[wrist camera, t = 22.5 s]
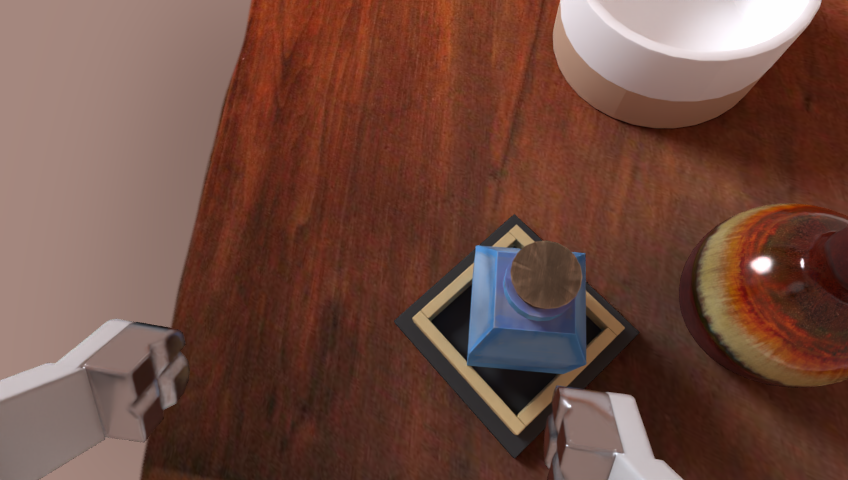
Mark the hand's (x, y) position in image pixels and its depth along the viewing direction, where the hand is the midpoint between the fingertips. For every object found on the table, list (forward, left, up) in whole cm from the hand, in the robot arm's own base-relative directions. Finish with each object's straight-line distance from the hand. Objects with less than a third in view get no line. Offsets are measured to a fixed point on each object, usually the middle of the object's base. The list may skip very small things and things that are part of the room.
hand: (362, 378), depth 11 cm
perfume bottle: (+8, 0, -23) cm, 25 cm away
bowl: (+34, +9, -26) cm, 44 cm away
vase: (+21, -10, -26) cm, 35 cm away
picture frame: (+8, 0, -25) cm, 27 cm away
